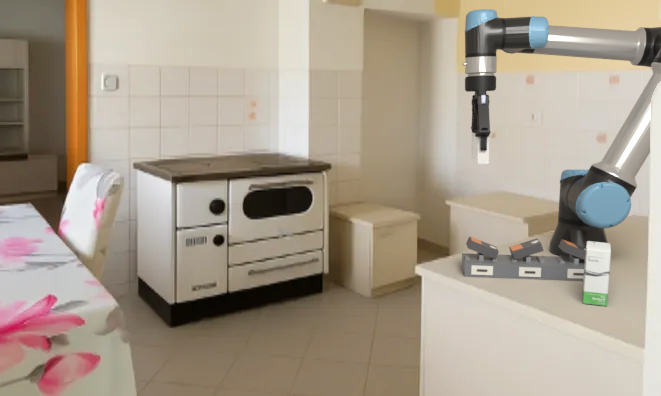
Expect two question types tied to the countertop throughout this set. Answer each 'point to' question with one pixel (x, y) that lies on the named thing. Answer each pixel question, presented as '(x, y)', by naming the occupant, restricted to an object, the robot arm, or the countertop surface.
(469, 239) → the rocker
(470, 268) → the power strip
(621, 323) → the countertop surface
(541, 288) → the countertop surface
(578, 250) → the rocker
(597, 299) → the ink box
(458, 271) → the countertop surface
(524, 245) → the rocker
